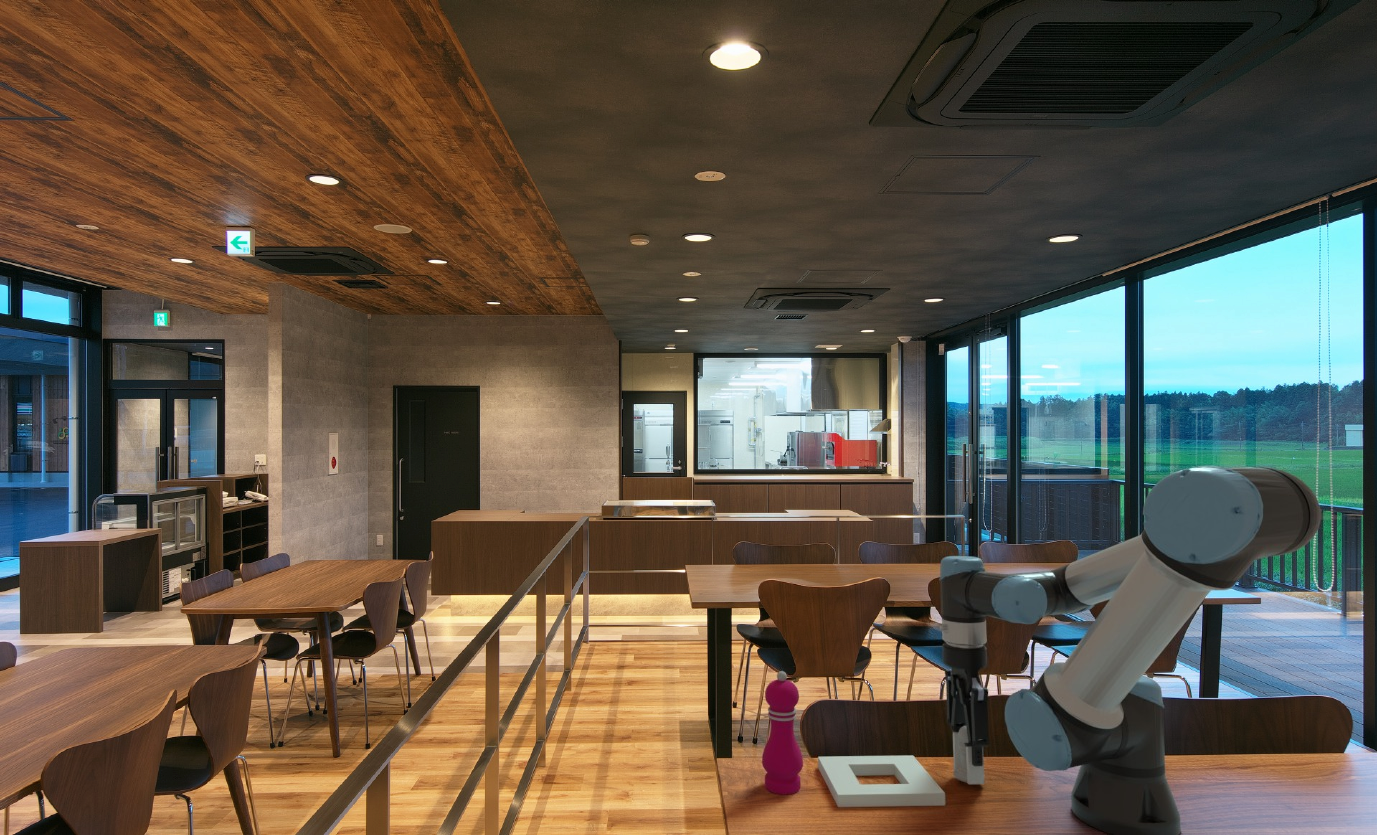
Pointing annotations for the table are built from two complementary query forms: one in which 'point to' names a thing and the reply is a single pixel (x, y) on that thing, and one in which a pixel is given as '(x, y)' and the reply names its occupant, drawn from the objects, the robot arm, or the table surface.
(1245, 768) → the table surface
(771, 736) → the pepper mill
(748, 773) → the table surface
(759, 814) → the table surface
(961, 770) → the chess piece
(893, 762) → the socket board
